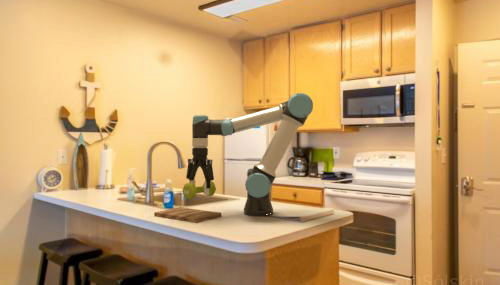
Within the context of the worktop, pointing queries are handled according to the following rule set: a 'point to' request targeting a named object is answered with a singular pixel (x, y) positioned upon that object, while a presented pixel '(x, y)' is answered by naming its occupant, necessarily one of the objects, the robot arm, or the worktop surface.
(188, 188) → the dumbbell
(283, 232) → the worktop surface
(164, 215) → the board
